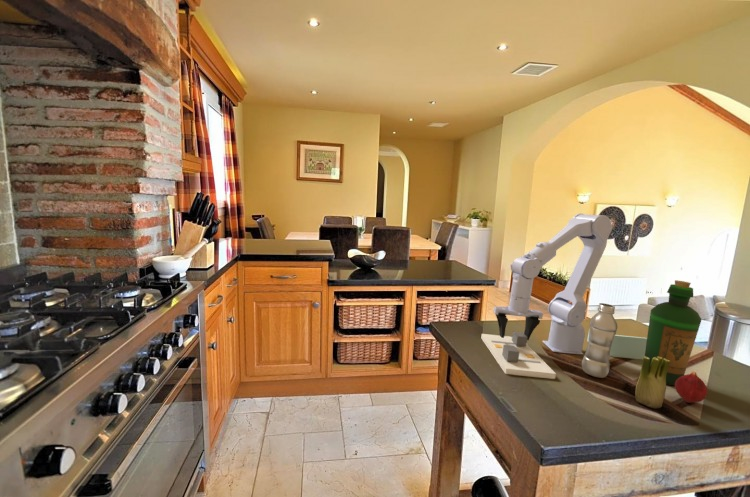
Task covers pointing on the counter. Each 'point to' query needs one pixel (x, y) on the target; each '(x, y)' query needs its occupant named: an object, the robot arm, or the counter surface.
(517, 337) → the switch
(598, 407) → the counter surface
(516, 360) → the switch
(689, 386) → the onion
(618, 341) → the l-shaped corner panel
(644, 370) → the fennel bulb
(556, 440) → the counter surface
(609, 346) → the plastic bottle
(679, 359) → the bottle
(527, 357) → the switch console
